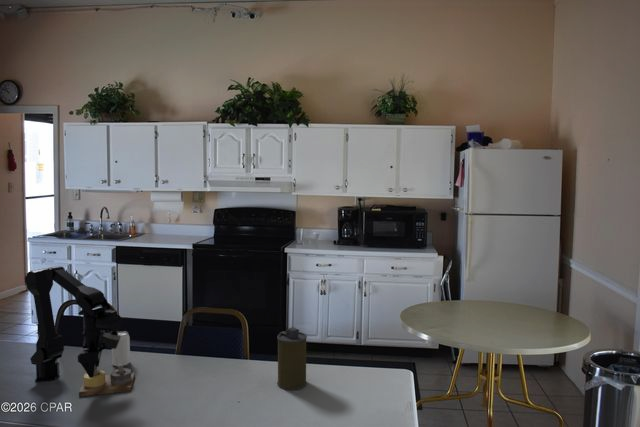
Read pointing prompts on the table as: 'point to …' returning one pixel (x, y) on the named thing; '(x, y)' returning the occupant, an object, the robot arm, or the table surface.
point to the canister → (291, 359)
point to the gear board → (107, 387)
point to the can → (122, 350)
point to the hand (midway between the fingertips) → (94, 371)
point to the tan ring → (94, 379)
